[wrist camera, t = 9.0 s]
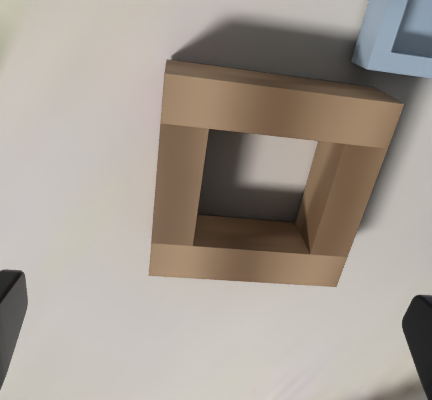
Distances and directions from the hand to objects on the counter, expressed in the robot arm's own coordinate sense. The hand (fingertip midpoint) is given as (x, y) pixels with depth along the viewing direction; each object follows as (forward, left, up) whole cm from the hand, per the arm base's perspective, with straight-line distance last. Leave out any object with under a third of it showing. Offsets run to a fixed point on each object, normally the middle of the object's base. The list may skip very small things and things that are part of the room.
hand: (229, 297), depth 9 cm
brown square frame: (-3, +2, -12) cm, 13 cm away
